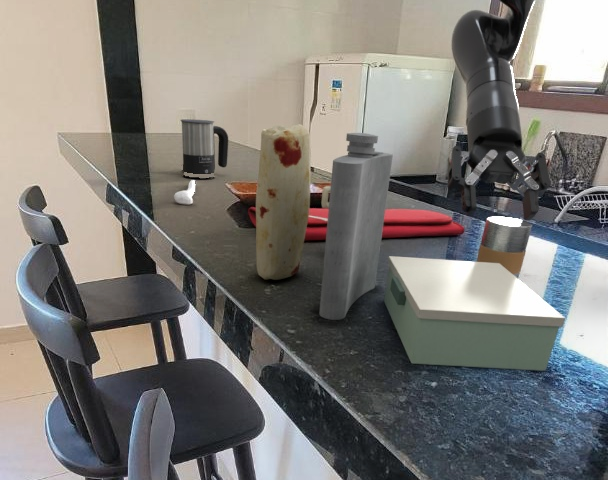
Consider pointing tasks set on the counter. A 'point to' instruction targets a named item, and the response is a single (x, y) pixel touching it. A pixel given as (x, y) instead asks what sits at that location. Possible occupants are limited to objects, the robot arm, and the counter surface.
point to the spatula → (186, 194)
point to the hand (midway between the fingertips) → (501, 215)
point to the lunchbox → (469, 315)
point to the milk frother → (202, 146)
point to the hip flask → (354, 224)
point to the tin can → (505, 243)
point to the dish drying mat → (387, 223)
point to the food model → (282, 200)
